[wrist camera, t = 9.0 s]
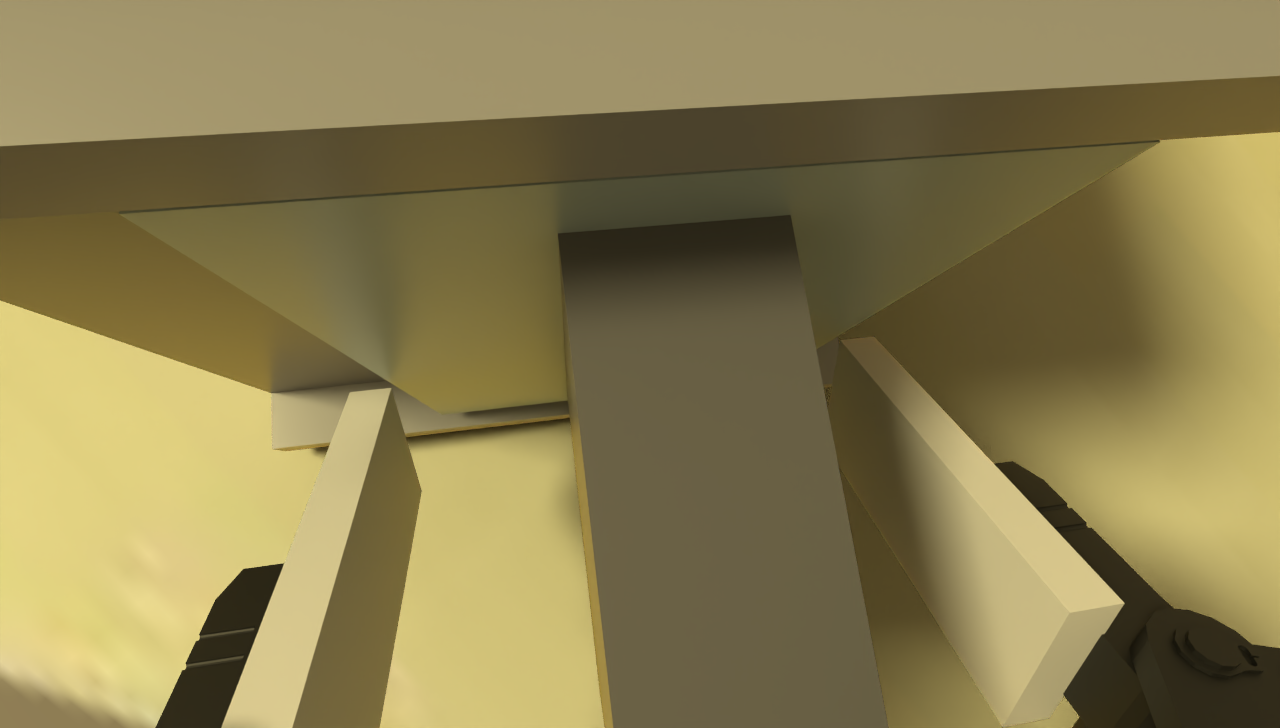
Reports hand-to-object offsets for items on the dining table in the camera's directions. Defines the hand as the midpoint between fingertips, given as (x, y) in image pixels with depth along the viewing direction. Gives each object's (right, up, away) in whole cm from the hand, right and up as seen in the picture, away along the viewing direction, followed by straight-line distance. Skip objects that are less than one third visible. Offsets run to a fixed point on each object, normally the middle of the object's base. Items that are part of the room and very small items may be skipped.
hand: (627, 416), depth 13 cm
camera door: (0, -3, +3) cm, 4 cm away
